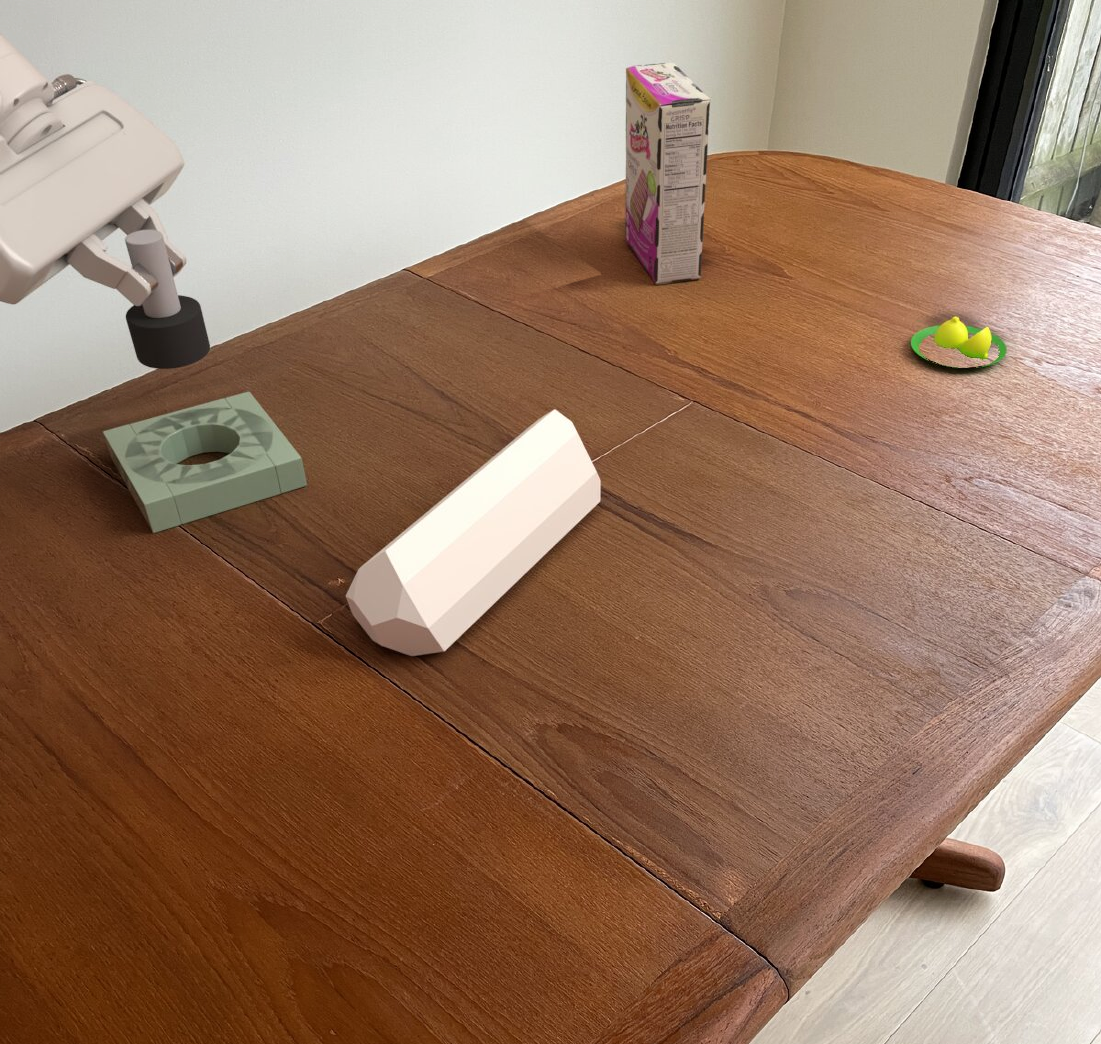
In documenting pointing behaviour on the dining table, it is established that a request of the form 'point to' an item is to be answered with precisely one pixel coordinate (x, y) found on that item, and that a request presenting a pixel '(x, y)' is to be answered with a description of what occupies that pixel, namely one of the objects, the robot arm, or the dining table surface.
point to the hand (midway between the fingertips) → (163, 284)
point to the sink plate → (213, 487)
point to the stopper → (163, 311)
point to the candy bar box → (665, 171)
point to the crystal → (476, 541)
